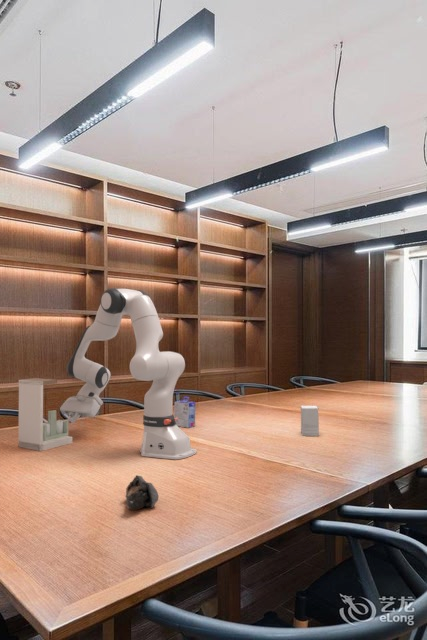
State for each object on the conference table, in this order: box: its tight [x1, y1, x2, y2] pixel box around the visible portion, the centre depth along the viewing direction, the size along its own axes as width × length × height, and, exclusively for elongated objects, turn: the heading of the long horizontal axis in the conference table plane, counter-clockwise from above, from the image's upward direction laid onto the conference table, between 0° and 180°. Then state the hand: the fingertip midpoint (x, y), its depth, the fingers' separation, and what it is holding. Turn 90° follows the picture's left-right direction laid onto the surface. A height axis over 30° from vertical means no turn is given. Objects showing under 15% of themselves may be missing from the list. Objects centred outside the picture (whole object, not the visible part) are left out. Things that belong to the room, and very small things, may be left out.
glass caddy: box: [43, 409, 69, 441], centre depth 196 cm, size 6×12×11 cm, turn 148°
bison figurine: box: [125, 474, 160, 511], centre depth 125 cm, size 12×7×10 cm
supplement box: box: [300, 405, 320, 437], centre depth 210 cm, size 7×7×13 cm
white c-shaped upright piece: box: [18, 377, 73, 452], centre depth 194 cm, size 14×16×28 cm
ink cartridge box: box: [173, 395, 196, 429], centre depth 231 cm, size 10×6×14 cm, turn 53°
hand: (69, 422), depth 204 cm, fingers closed
